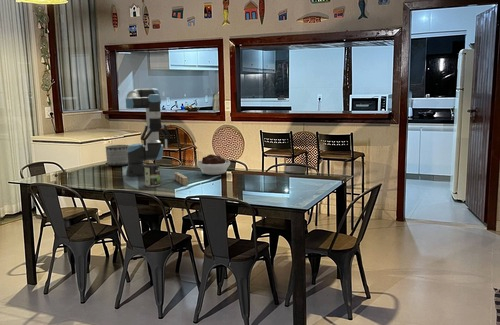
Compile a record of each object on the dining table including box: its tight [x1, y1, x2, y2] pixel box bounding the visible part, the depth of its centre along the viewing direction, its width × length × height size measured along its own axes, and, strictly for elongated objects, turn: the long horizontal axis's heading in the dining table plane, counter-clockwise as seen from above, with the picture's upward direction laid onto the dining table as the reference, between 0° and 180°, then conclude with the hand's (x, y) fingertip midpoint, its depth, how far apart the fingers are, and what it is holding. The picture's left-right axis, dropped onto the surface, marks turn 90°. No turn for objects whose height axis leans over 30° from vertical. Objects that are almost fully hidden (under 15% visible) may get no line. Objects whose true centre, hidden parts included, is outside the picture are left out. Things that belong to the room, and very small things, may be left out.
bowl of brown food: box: [196, 153, 231, 176], centre depth 365 cm, size 25×25×15 cm
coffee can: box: [144, 163, 161, 188], centre depth 329 cm, size 10×10×14 cm
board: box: [174, 171, 189, 186], centre depth 338 cm, size 22×3×5 cm, turn 25°
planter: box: [105, 144, 129, 167], centre depth 409 cm, size 19×19×16 cm
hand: (156, 149), depth 325 cm, fingers open, 13 cm apart
